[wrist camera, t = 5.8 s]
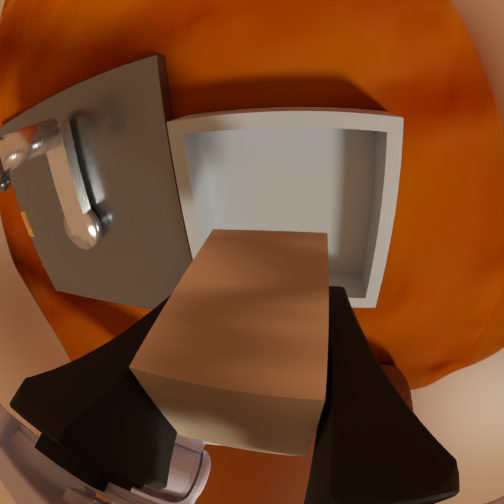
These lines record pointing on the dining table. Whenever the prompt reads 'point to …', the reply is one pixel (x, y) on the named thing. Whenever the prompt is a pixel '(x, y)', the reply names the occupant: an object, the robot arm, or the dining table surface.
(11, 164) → the crank
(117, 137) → the base plate
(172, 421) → the block
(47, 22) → the dining table surface
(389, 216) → the tray
